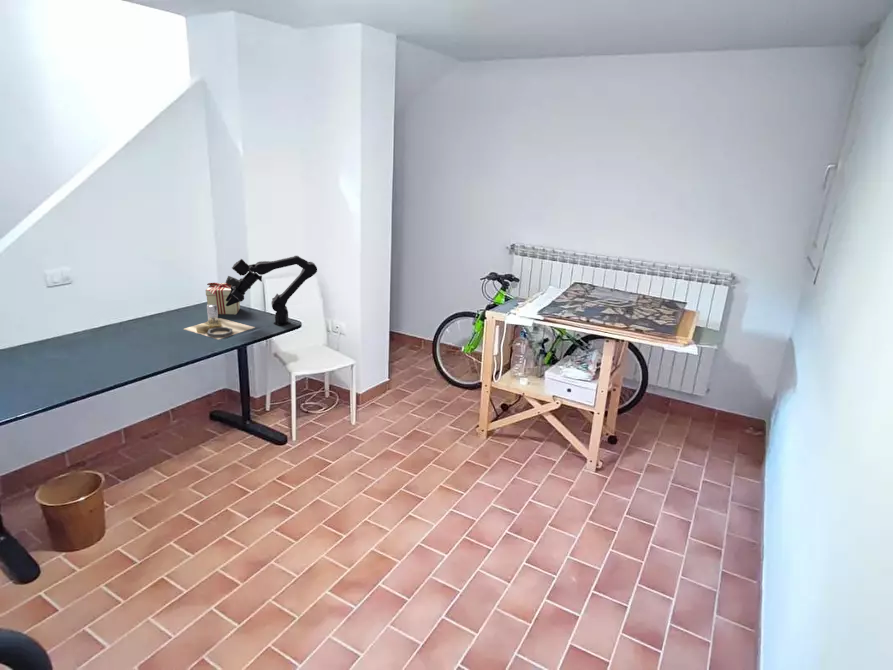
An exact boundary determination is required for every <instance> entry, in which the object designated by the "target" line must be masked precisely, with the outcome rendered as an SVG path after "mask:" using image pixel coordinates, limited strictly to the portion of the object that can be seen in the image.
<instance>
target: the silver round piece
mask: <svg viewBox="0 0 893 670" xmlns="http://www.w3.org/2000/svg"><path fill="white" fill-rule="evenodd" d="M206 311H207V321H205V322H206V323H205V322H204V323H205V324H207V325H209V328H217V327H221V326H222V324H221V321H219V320H218V319H219V314H218V312H217V305H216V304H210V305H207V304H206Z"/></svg>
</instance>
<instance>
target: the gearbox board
mask: <svg viewBox="0 0 893 670" xmlns="http://www.w3.org/2000/svg"><path fill="white" fill-rule="evenodd" d="M218 320H219V321H221V324H222V326H221V327H217V328H209V325H207V324H205V323H206V322H207V321H205V322H202V323H198V324H195V325H192V326H188V327H185V328H184V330H185V331H188V332H192V333H195V334H197V335H198V334H199V335H202V336H206V337H209V338H213V339H214V340H219V341H220V342H221V341H223V340H226V339H228V337H229V339H230V338H233V337H237V336H238V335H239V336H240V335H242V334H244V333H248V332H249V331H250V332H251V331H253V330H255V328H256V326H251V325H248V324H244V323H240V322H236V321H233V320H229V319H225V318H221V317H218ZM252 329H253V330H252ZM246 331H247V332H246ZM243 332H244V333H243ZM237 334H238V335H237ZM233 335H236V336H233ZM231 336H233V337H231Z"/></svg>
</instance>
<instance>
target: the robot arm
mask: <svg viewBox="0 0 893 670" xmlns="http://www.w3.org/2000/svg"><path fill="white" fill-rule="evenodd" d="M295 265H297V266H299V267H300V268H301V269H302V270H301V272H300V274H298V276H296V278H295V279H294V280H293V281H292V282H291V283H290V285H288V286H287V288H286V289H285V290H284V291H283V292H282V293H281V294H278V293H276V294H275V295H274V297H273V298H272V301H271V308H272V310H273V311H275V313H274V315H275V316H274V322H273V324H274V325H278V326H281V327H282V326H287V325H289V324H291V321H289V311H288V307H287V303H288V301H289V299H290V298H291V297H292V296H293V294H294V293H295V292H296V291H297V290H298V289H299V288H300V287H301V286H302V285H303V284H304V283H305V281H306V280H308V279H309V278H312V277H313V276H314V275H315V274H317V272H318V268H317V265H316V264H315V263H314V262H313V261H308V260H306V259H304V258H302V257H301V256H299V255H294V256H290V257H287V258H286V257H285V258H282V259H277V260H276V259H275V260H273V261H269V260H268V261H266V260H264V261H263V260H262V261H257V262H256V263H253V264H248V263H247V262H245V260H244V259H242V258H240V260H238V261H236V262H235V263H234V264H233V266H232V267H231V269H232V270H233V271H234V272H236V273H237V274H238V275H240V276H244V277H242V278H239V279H237V278H236V277H233V276H231V275H227V278H226V281H225V283H227V284H230V285H231V292H230V293H229V295H228V297H227V298H226V301H228V302H227V304H226V306H230V305H232V304H235V303H238V302H240V303H242V302H243V301H244V300H245V294H246V292H247V291H248V290H250V289H251V288H252V286H253V285H254V284H255V283H256V282H257V281H259V282H263V279H262V278H263V276H264V275H266V274H268V273H270V272H272V271H274V270H277V269H281V268H286V267H291V266H295Z"/></svg>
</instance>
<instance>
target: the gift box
mask: <svg viewBox="0 0 893 670" xmlns="http://www.w3.org/2000/svg"><path fill="white" fill-rule="evenodd" d="M207 286H208V287H207V288H206V289H205V296H206V301H207V304H206V306H207V305H210V304H216V305H217V312H218V315H235V316H236V315H237V314H238V313H239V311H240V309H241V302H238V303H235V304H232V305H230V306H226V304H227V302H228V301H226V298H227V297H228V295H229V293H230V292H231V285H230V284H227V283H226V282H209V283H207Z"/></svg>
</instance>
